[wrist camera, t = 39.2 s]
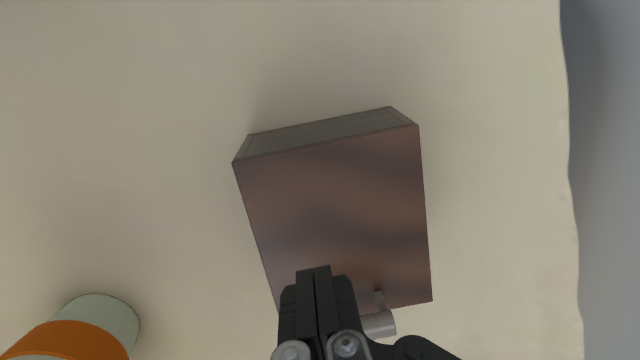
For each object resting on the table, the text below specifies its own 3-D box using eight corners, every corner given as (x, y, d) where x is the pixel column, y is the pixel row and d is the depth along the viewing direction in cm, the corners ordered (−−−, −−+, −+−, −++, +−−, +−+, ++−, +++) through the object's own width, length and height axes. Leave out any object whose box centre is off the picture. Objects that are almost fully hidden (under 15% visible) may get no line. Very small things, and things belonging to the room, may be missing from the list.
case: (406, 245, 40) (429, 289, 32) (284, 268, 40) (281, 318, 33) (390, 105, 33) (415, 122, 26) (247, 134, 34) (232, 159, 26)
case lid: (430, 296, 33) (453, 341, 28) (283, 324, 33) (280, 373, 28) (416, 122, 26) (443, 141, 21) (232, 159, 26) (217, 186, 21)
